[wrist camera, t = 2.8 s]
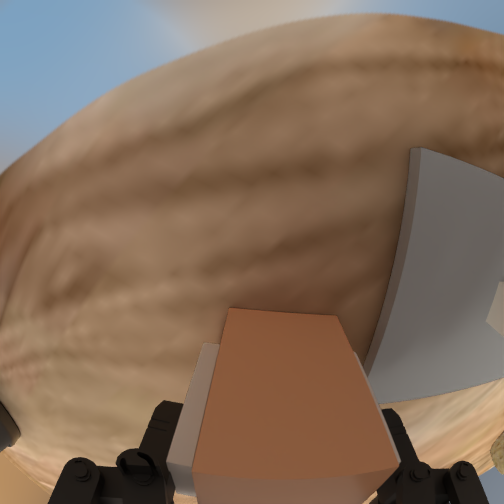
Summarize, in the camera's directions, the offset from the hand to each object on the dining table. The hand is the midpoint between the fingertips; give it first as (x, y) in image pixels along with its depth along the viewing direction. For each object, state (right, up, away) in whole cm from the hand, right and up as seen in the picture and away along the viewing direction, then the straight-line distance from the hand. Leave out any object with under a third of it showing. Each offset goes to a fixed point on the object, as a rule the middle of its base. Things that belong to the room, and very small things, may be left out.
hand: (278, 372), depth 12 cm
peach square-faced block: (0, 0, +1) cm, 1 cm away
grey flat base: (+14, +3, 0) cm, 15 cm away
